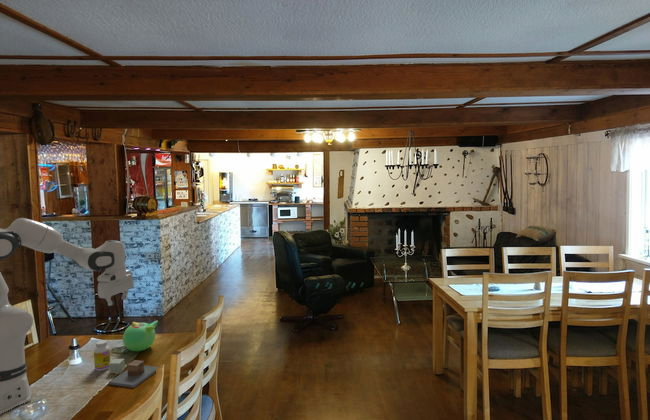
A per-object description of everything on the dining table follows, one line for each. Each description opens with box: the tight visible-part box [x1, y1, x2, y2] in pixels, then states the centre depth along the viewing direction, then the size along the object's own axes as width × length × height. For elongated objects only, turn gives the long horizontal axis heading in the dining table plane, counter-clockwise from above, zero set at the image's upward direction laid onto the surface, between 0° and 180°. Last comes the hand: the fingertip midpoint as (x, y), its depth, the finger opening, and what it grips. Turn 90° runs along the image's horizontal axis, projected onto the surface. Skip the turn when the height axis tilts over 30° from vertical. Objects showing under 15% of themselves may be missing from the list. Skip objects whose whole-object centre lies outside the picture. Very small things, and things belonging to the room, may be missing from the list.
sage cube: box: [108, 358, 126, 375], centre depth 208 cm, size 5×5×5 cm
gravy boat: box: [122, 320, 159, 352], centre depth 233 cm, size 18×17×15 cm
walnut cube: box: [126, 359, 145, 376], centre depth 203 cm, size 5×5×5 cm
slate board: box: [108, 365, 159, 389], centre depth 202 cm, size 18×13×1 cm
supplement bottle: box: [93, 339, 111, 372], centre depth 211 cm, size 7×7×13 cm
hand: (117, 302), depth 212 cm, fingers open, 8 cm apart
